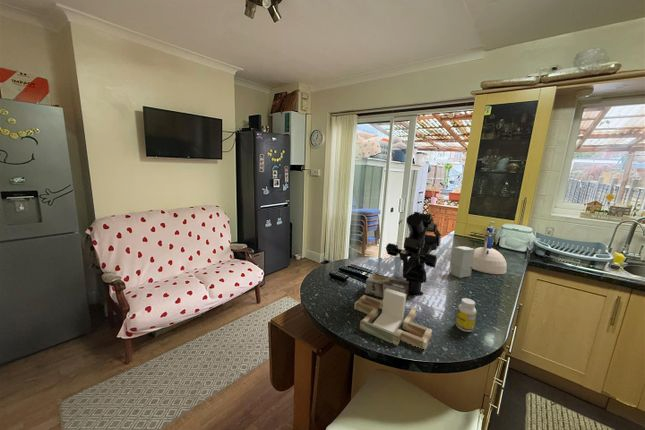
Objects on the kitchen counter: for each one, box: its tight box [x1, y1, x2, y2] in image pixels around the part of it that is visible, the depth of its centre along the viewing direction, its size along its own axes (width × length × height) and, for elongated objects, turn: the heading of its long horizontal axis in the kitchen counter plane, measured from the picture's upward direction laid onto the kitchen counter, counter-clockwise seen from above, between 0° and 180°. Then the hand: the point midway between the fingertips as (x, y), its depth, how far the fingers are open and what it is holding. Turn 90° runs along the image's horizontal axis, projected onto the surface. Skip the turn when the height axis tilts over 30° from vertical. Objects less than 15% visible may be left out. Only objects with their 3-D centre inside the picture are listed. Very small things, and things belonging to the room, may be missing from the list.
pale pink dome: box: [472, 236, 508, 275], centre depth 145 cm, size 20×21×18 cm
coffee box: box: [364, 272, 409, 300], centre depth 107 cm, size 9×6×16 cm
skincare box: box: [450, 246, 476, 279], centre depth 132 cm, size 8×6×15 cm
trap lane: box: [353, 294, 433, 351], centre depth 88 cm, size 21×27×3 cm
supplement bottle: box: [455, 297, 477, 333], centre depth 86 cm, size 5×5×10 cm
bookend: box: [372, 288, 407, 333], centre depth 86 cm, size 11×7×10 cm, turn 145°
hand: (404, 274), depth 96 cm, fingers closed
